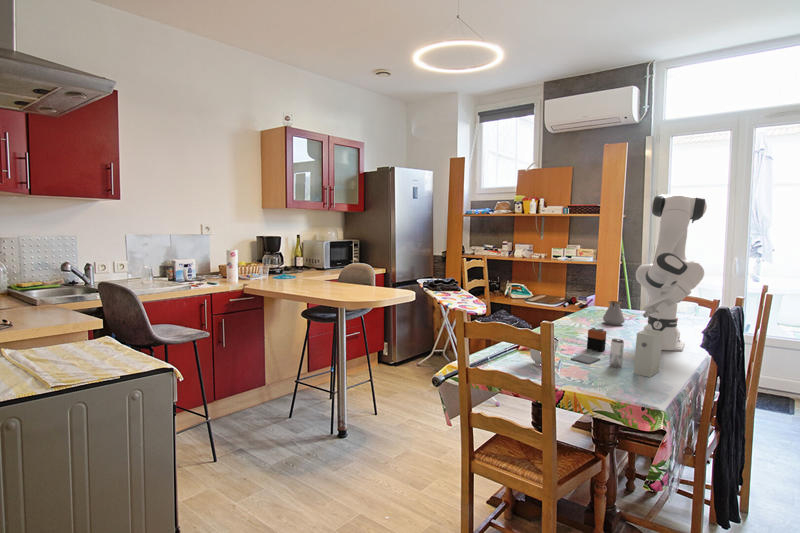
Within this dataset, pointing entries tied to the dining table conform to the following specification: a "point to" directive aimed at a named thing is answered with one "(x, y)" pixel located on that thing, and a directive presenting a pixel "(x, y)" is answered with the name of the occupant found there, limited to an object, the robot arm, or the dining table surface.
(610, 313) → the coffee pot
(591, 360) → the mat
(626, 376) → the dining table surface
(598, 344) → the battery
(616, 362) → the can
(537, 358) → the teacup
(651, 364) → the control box
